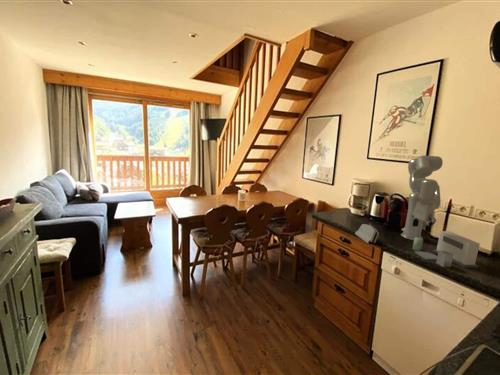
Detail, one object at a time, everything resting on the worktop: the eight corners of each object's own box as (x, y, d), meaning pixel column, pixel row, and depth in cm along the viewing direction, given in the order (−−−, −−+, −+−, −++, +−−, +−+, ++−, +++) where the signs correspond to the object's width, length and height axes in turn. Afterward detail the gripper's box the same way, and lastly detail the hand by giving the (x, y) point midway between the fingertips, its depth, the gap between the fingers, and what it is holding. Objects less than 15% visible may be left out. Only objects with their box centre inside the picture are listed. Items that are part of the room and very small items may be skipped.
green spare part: (410, 247, 152) (412, 237, 151) (417, 248, 153) (419, 237, 151) (416, 251, 148) (418, 240, 147) (423, 251, 148) (425, 240, 147)
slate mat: (414, 252, 145) (414, 251, 145) (428, 252, 146) (429, 251, 146) (426, 259, 137) (426, 258, 136) (441, 260, 137) (441, 258, 137)
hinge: (354, 233, 172) (361, 220, 171) (360, 235, 173) (366, 223, 171) (367, 243, 156) (375, 229, 154) (374, 245, 156) (381, 231, 155)
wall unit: (433, 251, 149) (437, 230, 147) (445, 251, 150) (449, 230, 147) (464, 267, 129) (469, 244, 127) (477, 267, 130) (483, 244, 128)
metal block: (436, 262, 134) (438, 250, 132) (443, 262, 134) (446, 250, 133) (443, 266, 129) (445, 254, 128) (450, 267, 130) (453, 254, 128)
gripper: (409, 197, 153) (405, 224, 155) (432, 204, 136) (426, 233, 138) (420, 198, 153) (416, 224, 156) (444, 204, 136) (438, 234, 139)
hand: (421, 229), depth 147 cm, fingers open, 9 cm apart
